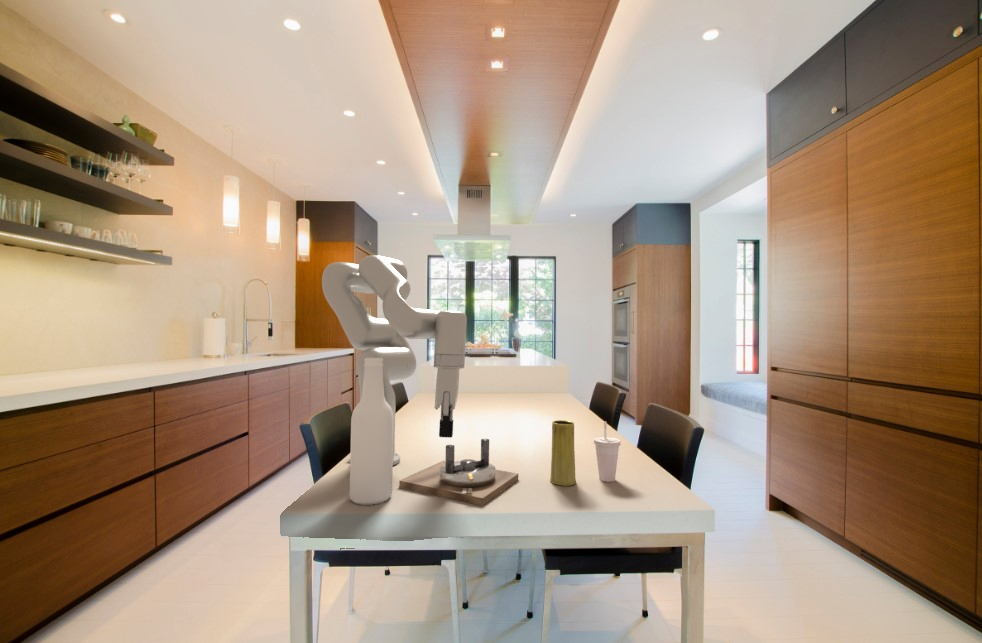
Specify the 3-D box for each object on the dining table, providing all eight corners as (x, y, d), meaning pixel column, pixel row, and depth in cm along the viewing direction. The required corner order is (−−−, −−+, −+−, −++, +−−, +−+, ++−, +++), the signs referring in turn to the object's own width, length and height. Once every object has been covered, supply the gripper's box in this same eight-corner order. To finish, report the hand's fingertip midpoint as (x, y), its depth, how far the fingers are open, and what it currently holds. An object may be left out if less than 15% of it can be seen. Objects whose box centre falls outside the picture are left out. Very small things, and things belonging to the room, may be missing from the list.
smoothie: (605, 473, 108) (605, 418, 108) (626, 480, 102) (626, 422, 103) (588, 477, 104) (588, 421, 105) (608, 485, 99) (608, 425, 99)
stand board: (399, 487, 96) (399, 479, 97) (443, 466, 112) (443, 459, 112) (482, 505, 86) (482, 497, 86) (518, 479, 102) (518, 472, 102)
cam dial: (463, 493, 88) (464, 454, 89) (429, 475, 100) (430, 441, 100) (510, 480, 96) (511, 445, 96) (474, 465, 108) (474, 433, 108)
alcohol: (390, 505, 86) (392, 359, 87) (345, 507, 85) (349, 359, 86) (393, 489, 95) (395, 357, 96) (353, 491, 94) (356, 357, 95)
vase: (575, 487, 97) (575, 425, 98) (549, 485, 99) (549, 424, 99) (575, 478, 103) (575, 420, 104) (550, 476, 105) (551, 419, 105)
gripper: (436, 358, 110) (433, 428, 110) (430, 363, 95) (426, 444, 95) (465, 359, 110) (462, 429, 110) (463, 364, 95) (460, 445, 95)
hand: (445, 436), depth 102 cm, fingers closed
